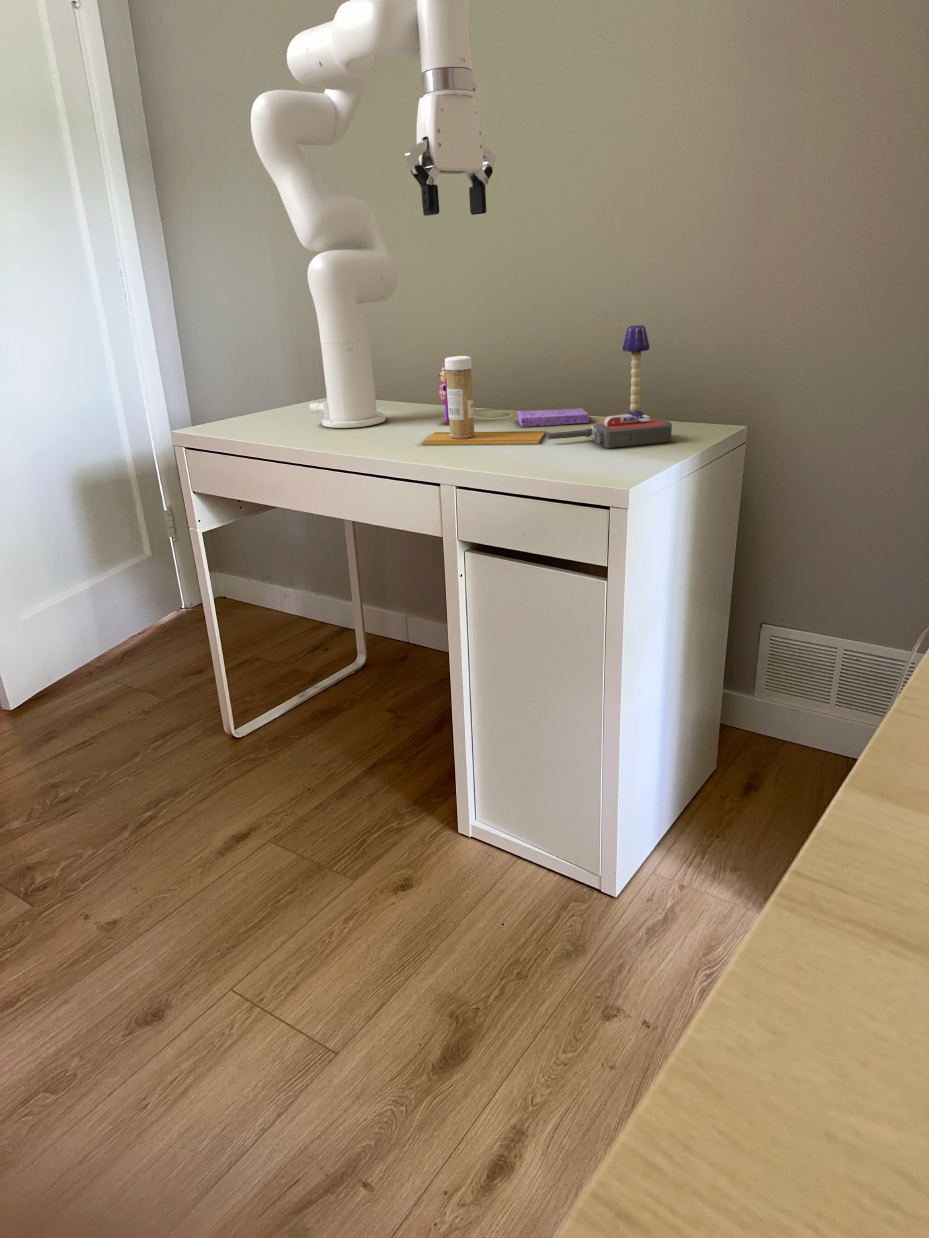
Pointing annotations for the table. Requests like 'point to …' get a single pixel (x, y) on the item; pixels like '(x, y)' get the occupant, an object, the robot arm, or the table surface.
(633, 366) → the toy lamp
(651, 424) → the walkie-talkie
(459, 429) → the brown spice jar
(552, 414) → the sponge
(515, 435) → the wooden board
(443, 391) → the purple clown figurine
